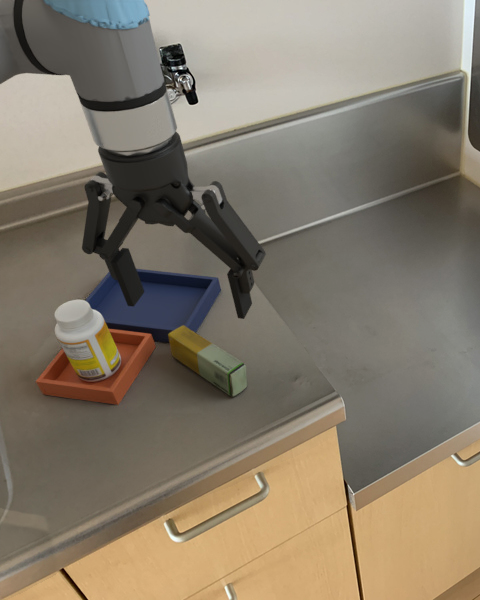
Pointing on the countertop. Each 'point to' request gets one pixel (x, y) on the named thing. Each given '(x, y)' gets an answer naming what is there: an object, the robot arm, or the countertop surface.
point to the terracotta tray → (110, 390)
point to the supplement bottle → (86, 341)
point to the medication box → (208, 360)
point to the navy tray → (157, 303)
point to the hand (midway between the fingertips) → (190, 305)
